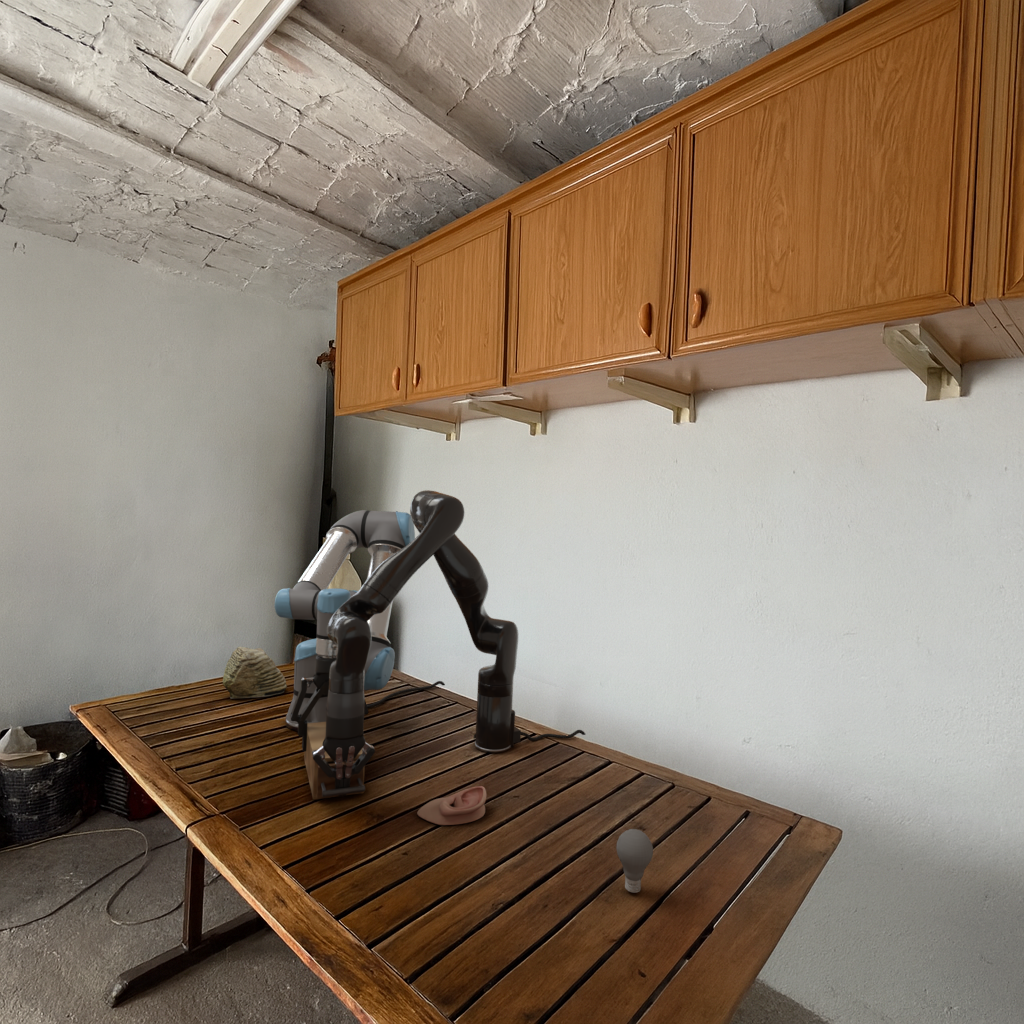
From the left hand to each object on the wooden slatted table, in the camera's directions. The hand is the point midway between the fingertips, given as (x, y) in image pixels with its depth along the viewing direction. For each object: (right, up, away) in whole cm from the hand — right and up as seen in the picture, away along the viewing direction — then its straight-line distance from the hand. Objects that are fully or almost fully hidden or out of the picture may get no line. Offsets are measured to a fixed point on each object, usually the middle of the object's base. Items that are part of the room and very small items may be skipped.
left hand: (328, 746), depth 151 cm
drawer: (+5, -3, -12) cm, 13 cm away
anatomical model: (+32, -5, -22) cm, 39 cm away
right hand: (+9, -2, -21) cm, 23 cm away
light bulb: (+64, -7, -46) cm, 79 cm away
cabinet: (+3, -4, -7) cm, 8 cm away
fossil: (-37, -1, +47) cm, 59 cm away
